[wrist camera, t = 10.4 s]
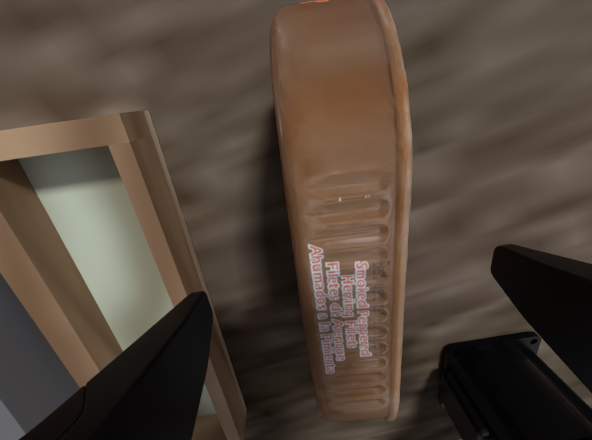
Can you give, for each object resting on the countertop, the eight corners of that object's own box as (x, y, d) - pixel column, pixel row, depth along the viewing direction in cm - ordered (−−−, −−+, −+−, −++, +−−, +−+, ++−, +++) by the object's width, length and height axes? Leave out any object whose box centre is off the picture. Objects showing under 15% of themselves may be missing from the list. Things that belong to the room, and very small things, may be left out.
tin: (353, 309, 18) (413, 473, 10) (304, 316, 18) (327, 487, 10) (339, 28, 11) (472, -113, 4) (263, 38, 11) (242, -84, 4)
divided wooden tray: (148, 110, 12) (119, 113, 10) (246, 409, 21) (243, 448, 18) (-180, 157, 12) (-287, 172, 10) (57, 439, 21) (30, 482, 18)
